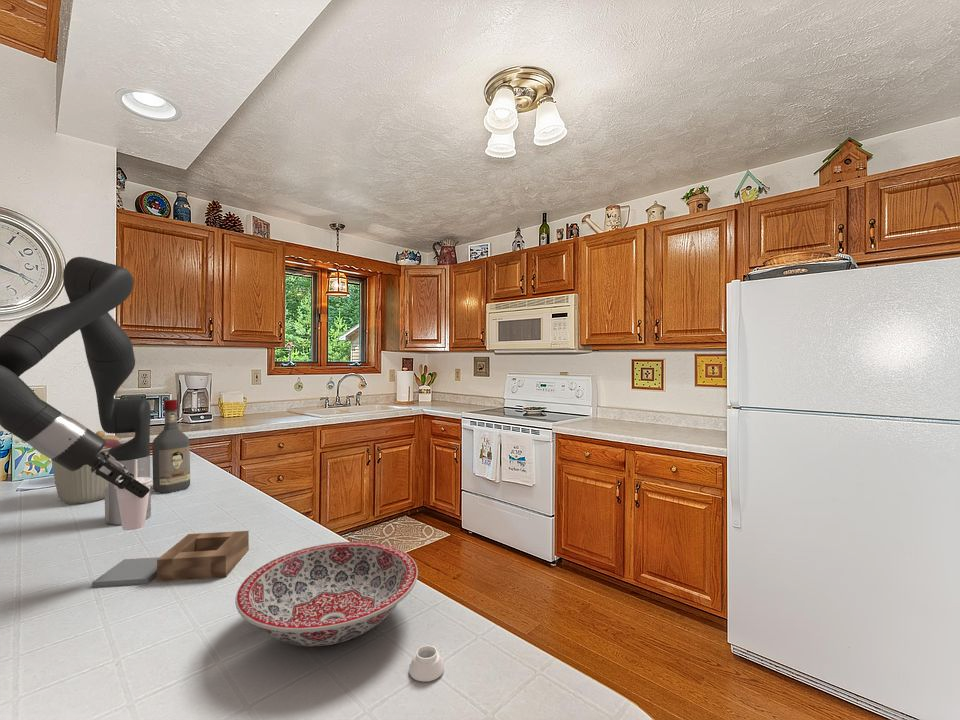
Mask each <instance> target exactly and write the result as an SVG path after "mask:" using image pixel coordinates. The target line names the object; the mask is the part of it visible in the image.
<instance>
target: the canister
mask: <svg viewBox="0 0 960 720" xmlns="http://www.w3.org/2000/svg"><path fill="white" fill-rule="evenodd" d="M104 440H105V441H106V444H105V446H104V447H103V448H102V449H101V450H100V451H99V453H100V452H104V453H105V454H107V453H108V451H109V449H111V448H112V447H115V446H117V445H120V444H123V443H124V442H122V441H120V440H118V441H117V440H114V439H104ZM50 460H51V459H50ZM51 467H52V472H53V478H54V483H55V487H56V488H55V489H56V493H57V496H58V499H59V500H60V502H62V503H64V504H69V503H70V504H71V505H72V504H73V505H76V504H77V503H79V504H86V502H87V503H92V501H93V502H98V501H100V500H103V499H104V500H105V488H107V487H109V482H107V481H106V480H104V479H103V478H102V477H100V476H96V475H95V474H93V473H92V472H91V471H92V470H90V469H91V468H92V467H90V466H89V465H83V466H82V467H81V468H80V469H78V470H76V471H69V470H68V469H66V468H64V467H63V466H61V465H59V464H58V463H56V462H55V461H53V460H51ZM70 504H69V505H70Z"/></svg>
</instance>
